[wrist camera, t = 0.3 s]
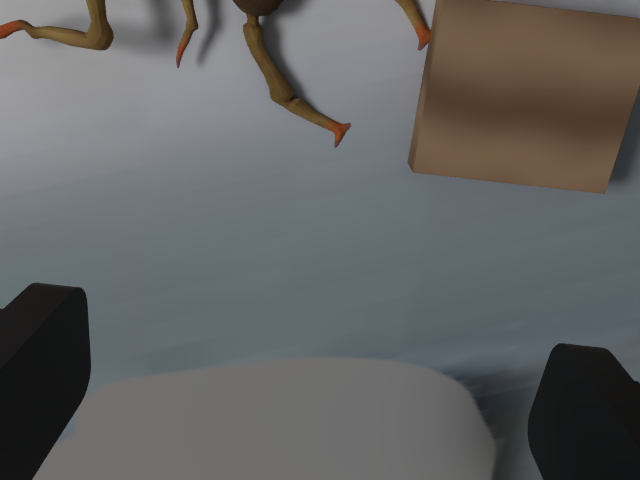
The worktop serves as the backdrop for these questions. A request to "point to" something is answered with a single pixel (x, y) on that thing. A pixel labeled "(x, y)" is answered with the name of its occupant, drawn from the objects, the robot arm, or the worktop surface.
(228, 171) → the worktop surface
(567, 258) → the worktop surface
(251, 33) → the toy
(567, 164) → the base board
